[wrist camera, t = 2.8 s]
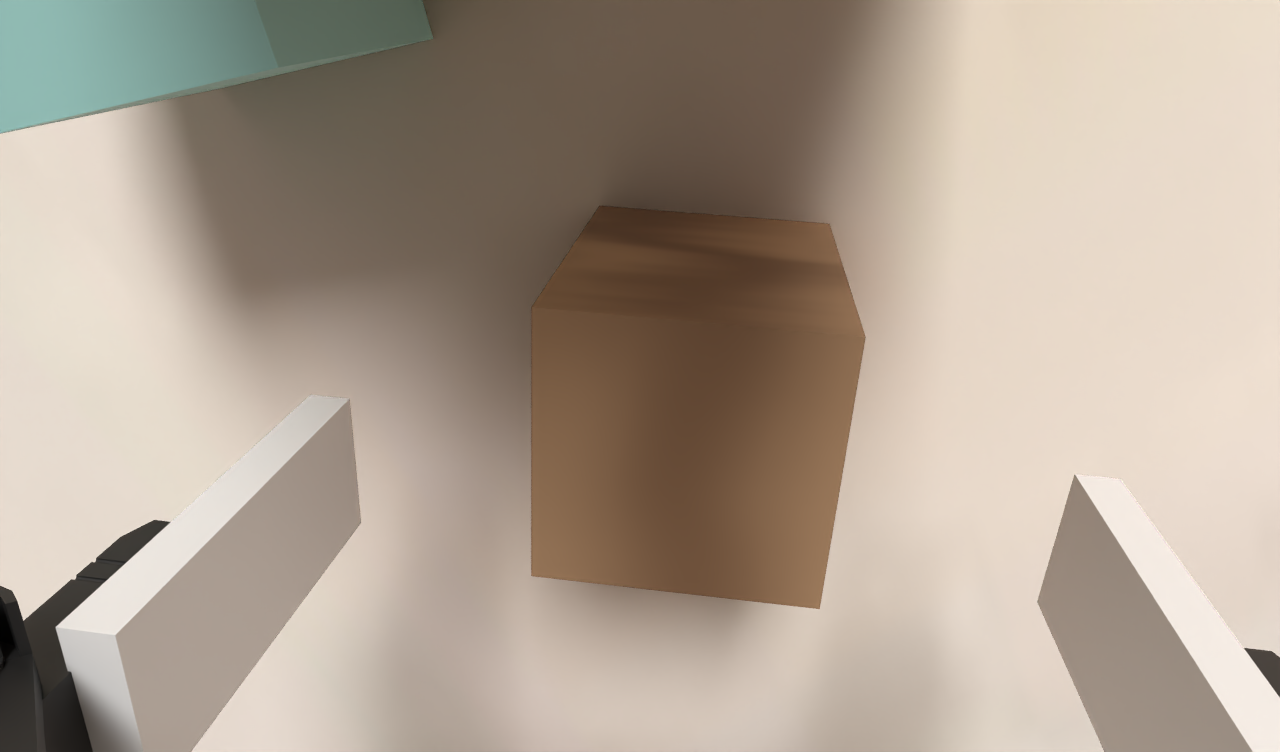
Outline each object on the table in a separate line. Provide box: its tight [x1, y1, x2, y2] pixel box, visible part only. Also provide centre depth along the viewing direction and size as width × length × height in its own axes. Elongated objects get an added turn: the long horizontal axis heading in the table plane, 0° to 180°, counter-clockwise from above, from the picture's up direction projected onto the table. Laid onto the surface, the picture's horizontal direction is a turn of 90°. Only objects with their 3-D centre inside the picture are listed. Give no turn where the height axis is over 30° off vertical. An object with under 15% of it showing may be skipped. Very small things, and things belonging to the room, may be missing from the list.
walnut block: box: [531, 206, 865, 609], centre depth 21 cm, size 6×6×8 cm
